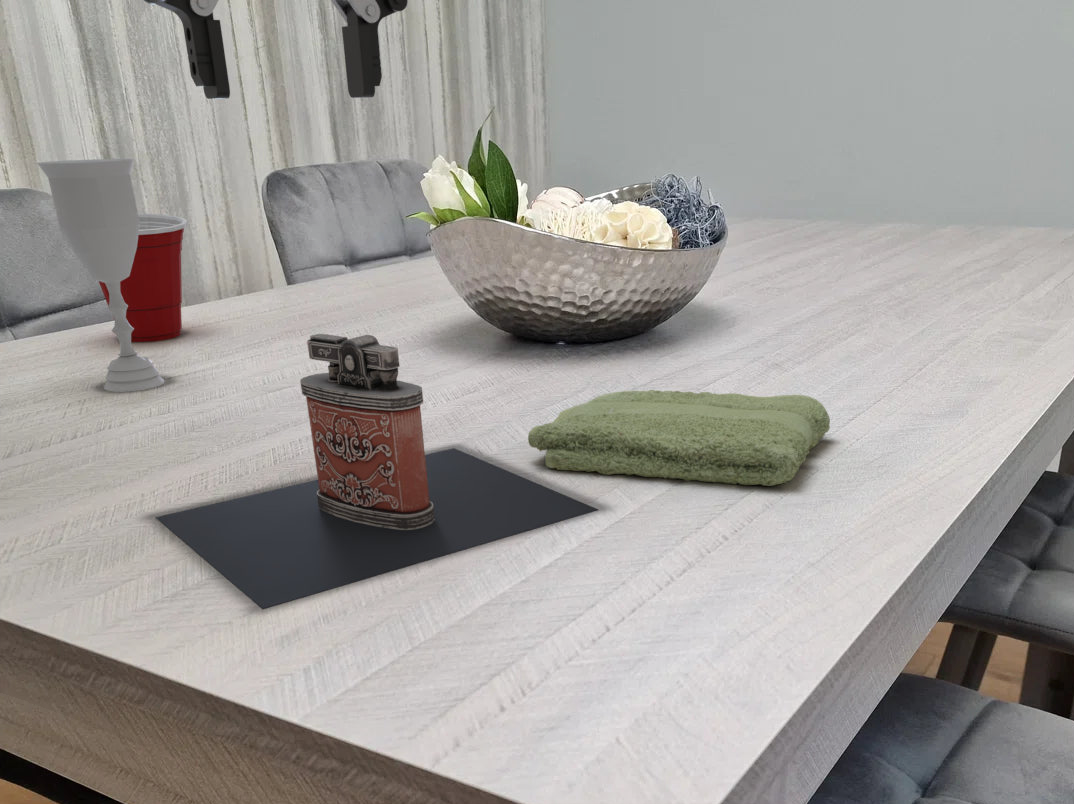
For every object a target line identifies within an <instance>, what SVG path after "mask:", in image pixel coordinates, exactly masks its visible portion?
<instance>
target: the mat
mask: <svg viewBox="0 0 1074 804" xmlns="http://www.w3.org/2000/svg"><path fill="white" fill-rule="evenodd" d="M425 461H426V471H427V481H428V492H429V501H430V502H432V503H433V508H434V519H435V520H434V521H433V523H431V524H430V525H428V526H425V527H422V528H418V529H413V530H398V529H391V528H384V527H377V526H372V525H367V524H363V523H358V522H353V521H350V520H347V519H344V518H341V517H337V516H335V515H332V514H330V513H328V512H325V511H323V510H321V509H320V508H319V505H318V499H317V491H318V490H319V482H318V479H315V480H310V481H306V482H302V483H298V484H292V485H289V486H285V487H280V488H276V489H271V490H267V491H262V492H259V493H258V492H257V493H253V494H250V495H245V496H241V497H237V498H232V499H228V500H224V501H219V502H215V503H211V504H206V505H202V506H197V507H193V508H189V509H184V510H180V511H176V512H172V513H171V512H170V513H167V514H163V515H157V516H155V519H156V520H157V521H159V523H161V524H162V525H163V526H164V527H165V528H167V529H168V530H169V531H170V532H171V533H173V534H174V535H175V536H176V537H177V538H179V539H180V541H182V542H183V543H184V544H185V545H187V546H188V547H189V548H190V549H191V550H192V551H193V552H195V553H196V554H197V555H198V556H200V558H202V559H203V560H204V561H205V562H206V563H207V564H209V565H210V566H211V567H212V568H213V569H214V570H216V571H217V572H218V573H219V574H221V576H222V577H224V578H225V579H226V580H228V581H229V582H230V583H231V584H232V585H233V586H235V588H236V589H237V590H239V591H240V592H241V593H242V594H244V595H245V596H246V597H248V599H250V601H252V602H253V603H254V604H255V605H257V606H258V607H259V608H260V609H262V610H266V609H269V608H273V607H277V606H279V605H283V604H286V603H290V602H294V601H296V600H299V599H304V598H307V597H311V596H313V595H316V594H317V595H318V594H320V593H324V592H327V591H331V590H334V589H337V588H340V587H344V586H347V585H350V584H353V583H358V582H360V581H364V580H367V579H370V578H374V577H378V576H382V575H384V574H388V573H391V572H395V571H398V570H401V569H405V568H408V567H411V566H414V565H419V564H422V563H425V562H428V561H431V560H435V559H438V558H442V557H445V556H448V555H452V554H456V553H459V552H462V551H466V550H468V549H469V550H470V549H472V548H475V547H479V546H482V545H485V544H489V543H493V542H496V541H500V540H503V539H506V538H509V537H514V536H516V535H520V534H523V533H526V532H529V531H533V530H536V529H540V528H543V527H547V526H549V525H553V524H558V523H560V522H563V521H567V520H570V519H573V518H577V517H580V516H583V515H587V514H590V513H594V512H597V511H599V510H600V509H599V508H596V507H594V506H592V505H589V504H587V503H585V502H582V501H580V500H577V499H575V498H573V497H570V496H568V495H565V494H563V493H561V492H558V491H557V490H554V489H552V488H549V487H547V486H544V485H542V484H539V483H537V482H536V481H533V480H530V479H528V478H525V477H523V476H520V475H518V474H516V473H514V472H512V471H509V470H507V469H504V468H502V467H500V466H497V465H496V464H492V463H491V462H487V461H486V460H483V459H481V458H478V457H476V456H473V455H471V454H469V453H467V452H464V451H462V450H460V449H457V448H455V447H453V448H449V449H448V448H447V449H444V450H440V451H435V452H431V453H425Z"/></svg>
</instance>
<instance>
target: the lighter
mask: <svg viewBox="0 0 1074 804" xmlns="http://www.w3.org/2000/svg"><path fill="white" fill-rule="evenodd" d="M306 344H307V350H308V357H309V360H313V361H314V360H315V361H321V362H326V363H327V362H328V363H329V364H328V365H327V369H328V372H321V373H314V374H311V375H307V376H304V377H302V378H301V379H300V381H299V382H300V388H301V389H300V390H301V394H302V396H305V398H306V399H305V400H306V406H307V412H308V419H309V426H310V433H311V440H312V447H313V453H314V461H315V468H316V475H317V480H318V482H319V490H318V491H317V499H318V505H319V508H320V509H321V510H323V511H325V512H328V513H330V514H332V515H335V516H337V517H341V518H344V519H347V520H350V521H353V522H358V523H363V524H367V525H372V526H377V527H384V528H391V529H398V530H413V529H418V528H422V527H425V526H428V525H430V524H431V523H433V521H434V520H435V519H434V508H433V503H432V502H430V501H429V492H428V481H427V471H426V461H425V455H426V451H425V442H424V441H425V439H424V431H423V422H422V411H421V410H422V409H421V405H422V404H424V395H423V388H422V386H420V385H417V384H414V383H410V382H407V381H402V380H398V376H399V368H400V366H401V365H400V357H399V348H398V347H397V346H393V345H391V346H390V345H383V344H380V343H379V340H378V339H377V337H375V336H374V335H372V334H364V335H359V336H355V337H352V338H348V337H347V336H341V335H334V334H327V333H315V334H312V335H309V339H307V340H306Z"/></svg>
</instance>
